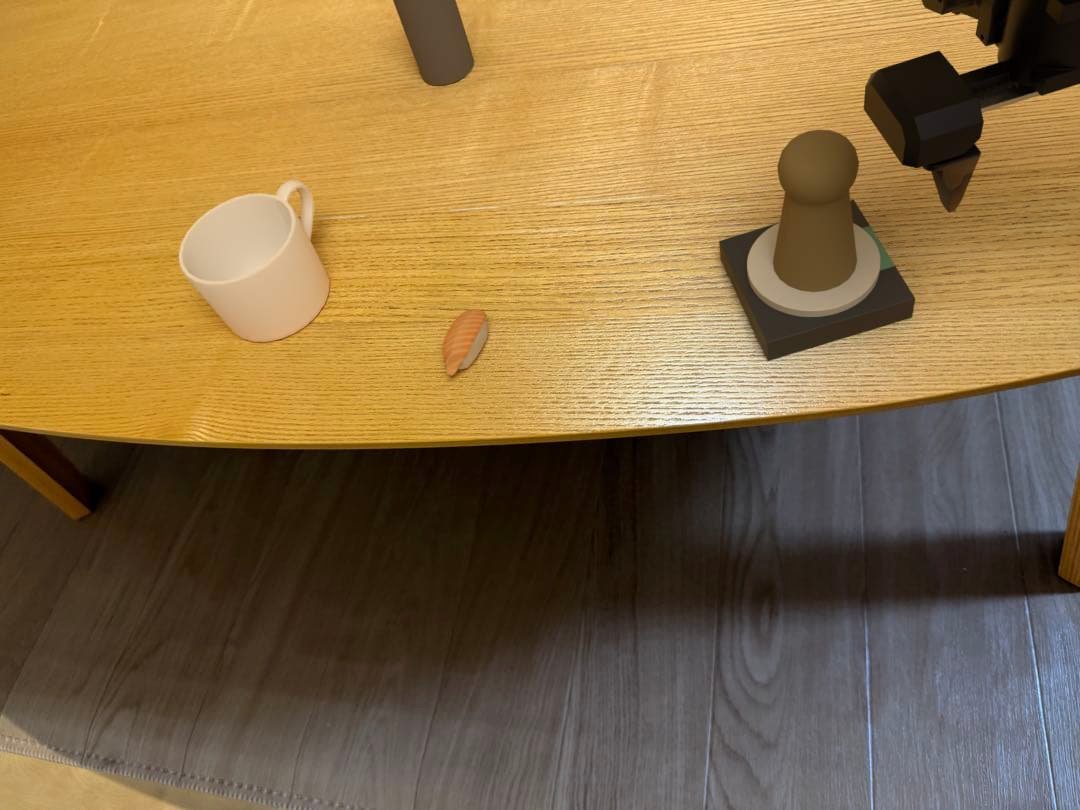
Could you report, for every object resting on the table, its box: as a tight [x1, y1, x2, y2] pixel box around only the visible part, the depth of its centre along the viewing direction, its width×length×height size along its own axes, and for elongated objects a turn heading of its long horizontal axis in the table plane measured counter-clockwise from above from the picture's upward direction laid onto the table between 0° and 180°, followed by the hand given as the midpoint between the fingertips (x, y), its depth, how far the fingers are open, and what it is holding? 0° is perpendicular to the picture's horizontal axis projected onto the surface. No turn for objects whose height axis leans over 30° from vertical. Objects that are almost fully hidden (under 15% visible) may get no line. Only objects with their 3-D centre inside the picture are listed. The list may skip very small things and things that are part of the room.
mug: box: [178, 179, 331, 343], centre depth 82 cm, size 13×10×8 cm
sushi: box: [441, 308, 489, 376], centre depth 75 cm, size 3×6×3 cm, turn 158°
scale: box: [718, 198, 916, 362], centre depth 72 cm, size 11×11×3 cm
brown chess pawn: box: [773, 129, 860, 292], centre depth 66 cm, size 6×6×11 cm
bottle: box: [392, 0, 475, 86], centre depth 93 cm, size 6×6×15 cm
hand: (1021, 184), depth 57 cm, fingers open, 9 cm apart
